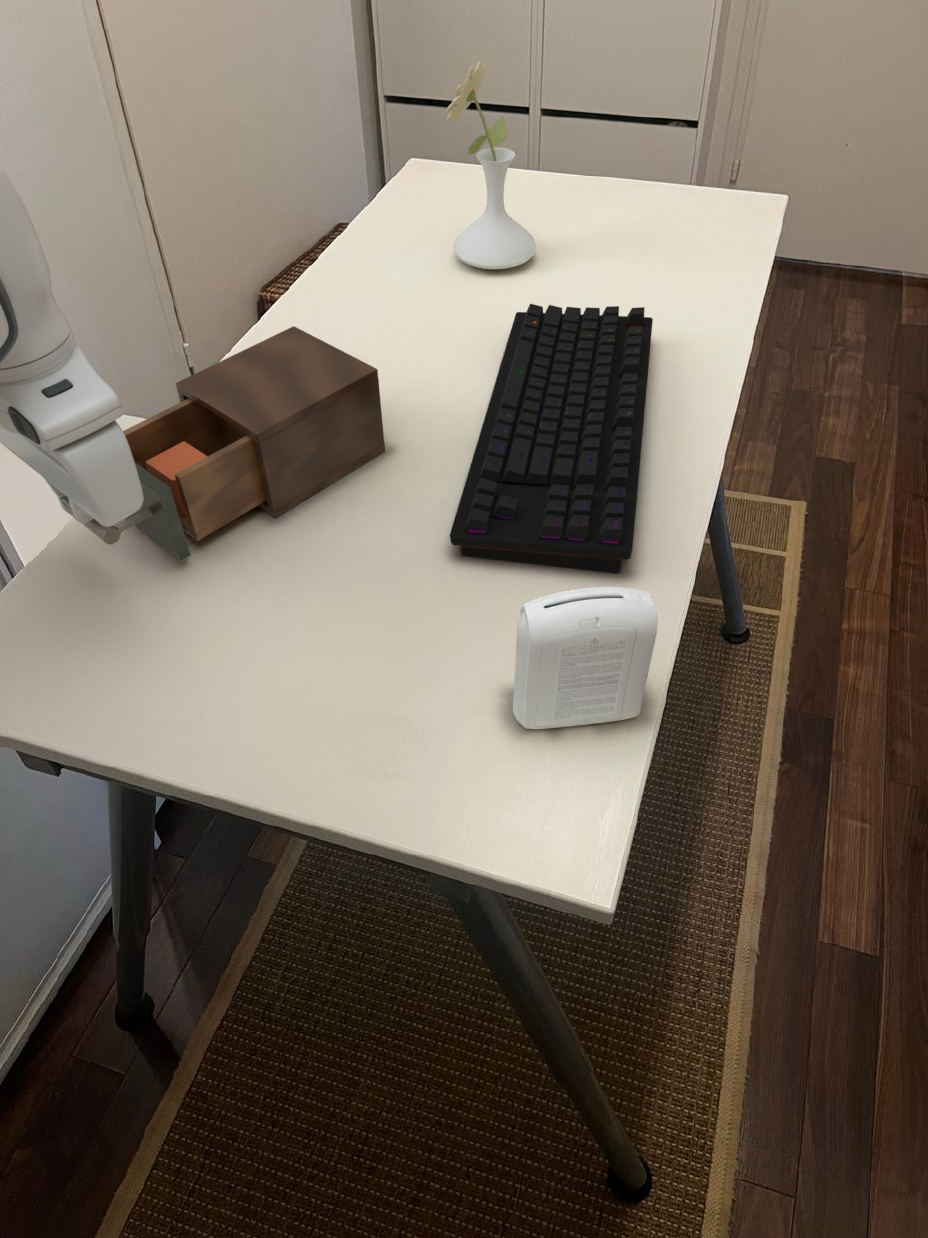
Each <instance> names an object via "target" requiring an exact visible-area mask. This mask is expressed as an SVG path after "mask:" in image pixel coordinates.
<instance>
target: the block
mask: <svg viewBox="0 0 928 1238" xmlns="http://www.w3.org/2000/svg"><path fill="white" fill-rule="evenodd" d="M206 457H208V456H206V455H205V454H203V453H201V452H200V451H198V450H197V449H195V448H194V447H192V446H191V445H189V444H188V443H186V442H185V441H183V442H181V443H179V444H178V445H176V446H174V447H172V448H170V449H168V450H166V451H164V452H162V453H161V454H159V455H157V456H155V457H153V458H151V459H149V460H147V461H146V462H145V463H146V466H147V469H148V472H149V473H151V474H152V475H154V476H155V477H156V478H158V479H159V480H161V481H162V482H163V483H165V484H166V485H168V486H169V487H170V489H171V492H172V495H173V498H174V502H175V505H176V508H177V512H178V514H179V515H180V516H182V517H183V518H185V517H186V516H187V515H186V512H185V508H184V505H183V502H182V498H181V495H180V492H179V488H178V485H177V482H176V478H175V474H177V473H179V472H180V471H182V470H184V469H186V468H188V467H190V466H191V465H193V464H195V463H197V462H199V461H201V460H203V459H204V458H206Z"/></svg>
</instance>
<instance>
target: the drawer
mask: <svg viewBox="0 0 928 1238" xmlns="http://www.w3.org/2000/svg"><path fill="white" fill-rule="evenodd" d="M122 431H123V433H124V435H125V437H126V439H127V441H128V444H129V447H130V449H131V452H132V456H133V459H134V462H135V465H136V469H137V472H138V476H139V479H140V483H141V487H142V491H143V497H144V500H143V504H142V507H141V508H140V510H139V511H137V512H136V513H134V514H132V515H131V516H129V517H127V518H126V519H124V520H122V521H120V522H118V523H116V524H114V525H112V526H109V527H105V526H103V525H101V524H100V523H99V522H98V521H97V520H95V519H93V520H91V521H89V522H87V523H85V524H82V525H83V526H84V527H85V528H87V529H88V530H89V531H90V532H91V533H92V534H94V535H95V536H96V537H97V538H99V539H100V540H101V541H102V542H103V543H105V544H106V545H110V546H111V545H115V544H116V543H117V542H118V541H119V540H120V538H121V534H122V533H124V532H125V531H128V530H129V529H131V528H132V527H134V528H136V529H137V530H139V531H140V532H141V533H143V534H144V535H145V536H146V537H148V538H149V539H150V540H151V541H153V542H154V543H155V544H157V545H158V546H159V547H161V548H162V549H163V550H164V551H166V552H167V553H168V554H169V555H171V556H172V557H173V558H175V559H176V560H177V561H179V562H182V561H185V560H186V559H187V558H189V557H191V555H192V554H191V551H190V548H189V545H188V541H187V538H186V535H185V533H186V534H188V535H189V536H190V537H192V538H193V539H194V540H196V542H199V541H200V540H202V539H204V538H206V537H207V536H209V535H210V534H213V533H214V532H215V531H217V530H219V529H221V528H223V527H224V526H226V525H228V524H230V523H231V522H232V521H235V520H236V519H238V518H240V517H241V516H242V515H244V514H246V513H248V512H250V511H251V510H253V509H255V508H256V507H258V505H259V504H261V503H263V502H265V501H266V500H267V499H266V495H265V490H264V485H263V481H262V476H261V471H260V467H259V462H258V457H257V453H256V448H255V443H254V438H252V437H250V436H249V435H247V434H246V433H244V432H242V431H241V430H239V429H238V428H236V427H234V426H233V425H231V424H230V423H228V422H226V421H225V420H223V419H222V418H220V417H218V416H217V415H215V414H214V413H212V412H210V411H209V410H207V409H206V408H204V407H202V406H201V405H199V404H198V403H196V402H194V401H193V400H191V399H190V398H189V399H186V400H184V401H182V402H180V401H179V403H177V404H174V405H173V406H171V407H169V408H166V409H164V410H163V411H160V412H158V413H156V414H155V415H152V416H150V417H149V418H147V419H144V420H142V421H140V422H138V423H136V424H134V425H132V426H130V427H128V428H126V429H124V430H122ZM183 441H185V442H186V443H188V444H189V445H191V446H192V447H194V448H195V449H197V450H198V451H200V452H201V453H203V454H205V455H206V456H208V457H206V458H204V459H203V460H201V461H199V462H197V463H195V464H193V465H191V466H190V467H188V468H186V469H184V470H182V471H180V472H179V473H177V474H175V478H176V482H177V485H178V488H179V492H180V495H181V498H182V502H183V505H184V508H185V512H186V515H187V516H186V517H185V518H183V517H182V516H180V515H179V514H178V512H177V508H176V505H175V502H174V498H173V495H172V492H171V489H170V487H169V486H168V485H166V484H165V483H163V482H162V481H161V480H159V479H158V478H156V477H155V476H154V475H152V474H151V473H149V472H148V469H147V466H146V463H145V462H146V461H147V460H149V459H151V458H153V457H155V456H157V455H159V454H161V453H162V452H164V451H166V450H168V449H170V448H172V447H174V446H176V445H178V444H179V443H181V442H183Z"/></svg>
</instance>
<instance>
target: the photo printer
mask: <svg viewBox="0 0 928 1238" xmlns="http://www.w3.org/2000/svg"><path fill="white" fill-rule="evenodd" d="M657 634H658V612H657V606H656V603H655V602H654V600H653V597H652V594H651V592H649V591H646V590H642V589H636V588H631V587H621V586H596V587H585V588H584V587H583V588H575V589H569V590H564V591H559V592H555V593H554V592H553V593H551V594H547V595H544V596H541V597H538V598H535V599H532V600H530V601H528V602H525V603H523V604H522V605H521V608H520V613H519V620H518V622H517V628H516V645H515V661H514V662H515V663H514V679H513V697H512V699H513V700H512V713H513V716H514V718H515V721H517V722H518V724H520V725H521V726H523V728H525V729H529V730H542V729H554V728H555V729H557V728H564V727H575V726H585V725H593V724H603V723H610V722H618V721H624V720H628V719H629V720H630V719H634V718H636V717H638V716H639V715H640V713H641V709H642V705H643V700H644V695H645V690H646V686H647V682H648V676H649V673H650V672H649V671H650V667H651V661H652V657H653V653H654V648H655V644H656V639H657Z"/></svg>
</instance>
